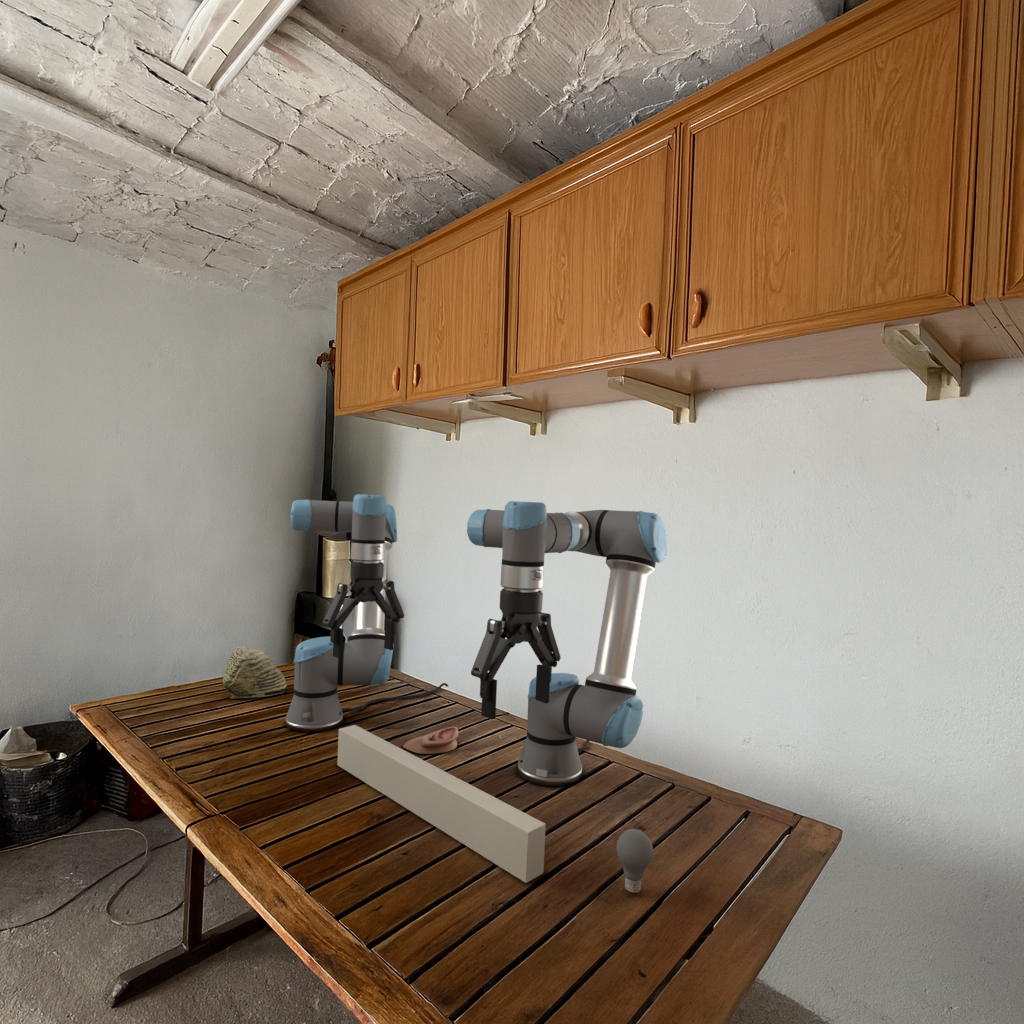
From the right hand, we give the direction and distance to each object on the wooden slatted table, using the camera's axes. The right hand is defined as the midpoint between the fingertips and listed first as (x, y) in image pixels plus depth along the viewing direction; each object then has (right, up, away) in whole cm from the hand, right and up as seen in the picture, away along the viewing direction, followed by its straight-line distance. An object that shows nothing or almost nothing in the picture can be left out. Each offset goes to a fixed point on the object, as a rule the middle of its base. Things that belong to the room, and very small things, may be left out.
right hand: (516, 709), depth 112 cm
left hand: (-35, +2, +35) cm, 49 cm away
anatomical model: (-22, -26, +52) cm, 62 cm away
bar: (-19, -27, +18) cm, 37 cm away
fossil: (-81, -23, +86) cm, 121 cm away
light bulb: (+19, -29, -6) cm, 35 cm away
